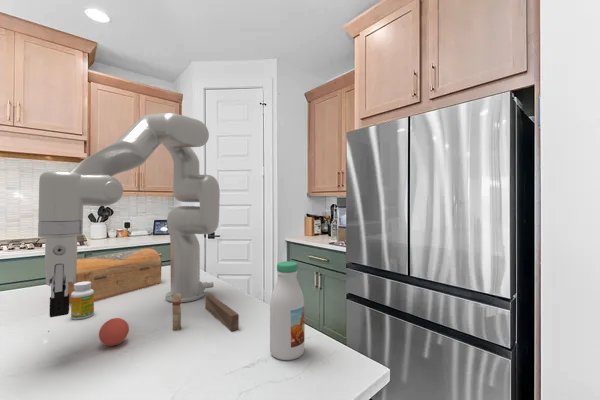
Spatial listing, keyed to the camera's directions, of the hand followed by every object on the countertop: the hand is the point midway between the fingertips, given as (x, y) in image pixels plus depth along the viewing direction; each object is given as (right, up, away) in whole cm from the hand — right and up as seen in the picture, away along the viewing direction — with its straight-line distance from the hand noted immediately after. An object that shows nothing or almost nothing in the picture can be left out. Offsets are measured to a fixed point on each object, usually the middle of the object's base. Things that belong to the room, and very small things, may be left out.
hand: (59, 314), depth 64 cm
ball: (+8, -6, +6) cm, 12 cm away
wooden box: (-19, -10, +48) cm, 52 cm away
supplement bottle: (-12, -10, +23) cm, 27 cm away
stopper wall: (+29, -9, +22) cm, 37 cm away
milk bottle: (+49, -10, +3) cm, 50 cm away
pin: (+19, -9, +15) cm, 26 cm away
